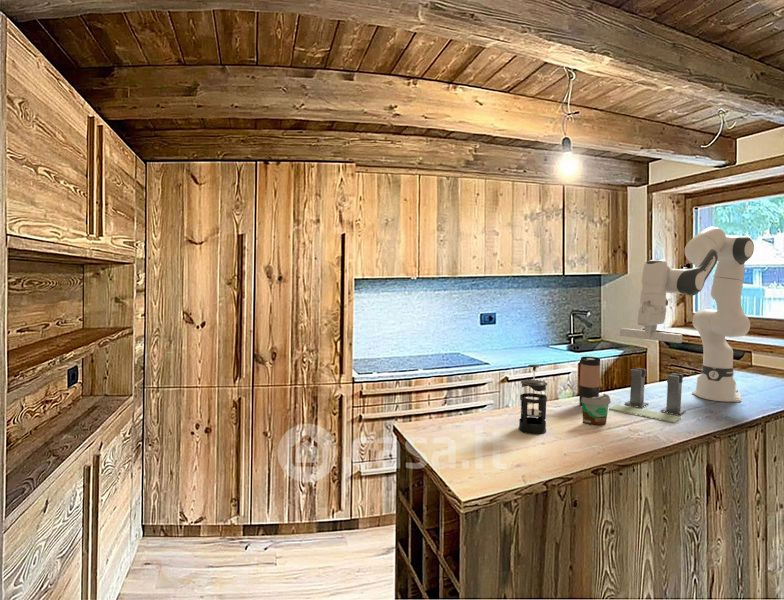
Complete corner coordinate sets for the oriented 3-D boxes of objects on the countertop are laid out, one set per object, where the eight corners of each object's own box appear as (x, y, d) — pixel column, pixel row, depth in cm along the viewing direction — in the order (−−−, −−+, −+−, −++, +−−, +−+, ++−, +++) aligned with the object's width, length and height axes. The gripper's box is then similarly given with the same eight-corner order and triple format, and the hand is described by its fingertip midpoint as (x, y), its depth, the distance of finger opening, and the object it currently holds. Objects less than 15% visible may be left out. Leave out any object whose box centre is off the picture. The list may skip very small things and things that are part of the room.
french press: (533, 436, 174) (536, 369, 172) (511, 429, 181) (513, 364, 179) (554, 430, 181) (557, 365, 179) (532, 423, 188) (534, 361, 187)
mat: (616, 406, 214) (617, 404, 214) (680, 418, 197) (681, 417, 197) (609, 409, 208) (609, 408, 208) (674, 423, 191) (674, 421, 191)
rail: (622, 335, 211) (623, 328, 211) (681, 342, 196) (682, 334, 196) (619, 335, 209) (620, 328, 209) (679, 343, 194) (680, 335, 194)
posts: (631, 401, 221) (632, 367, 220) (685, 412, 206) (687, 374, 205) (624, 404, 216) (626, 369, 215) (680, 415, 201) (682, 377, 200)
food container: (593, 428, 183) (594, 400, 183) (579, 423, 189) (581, 396, 188) (617, 424, 189) (618, 397, 188) (603, 419, 194) (604, 393, 194)
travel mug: (595, 404, 216) (597, 356, 215) (601, 409, 209) (603, 360, 207) (576, 403, 217) (578, 356, 216) (581, 408, 209) (583, 359, 208)
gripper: (652, 302, 192) (649, 339, 193) (669, 301, 206) (667, 335, 207) (634, 300, 196) (631, 336, 197) (653, 300, 211) (650, 333, 212)
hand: (650, 336), depth 202 cm, fingers closed on rail, 3 cm apart
